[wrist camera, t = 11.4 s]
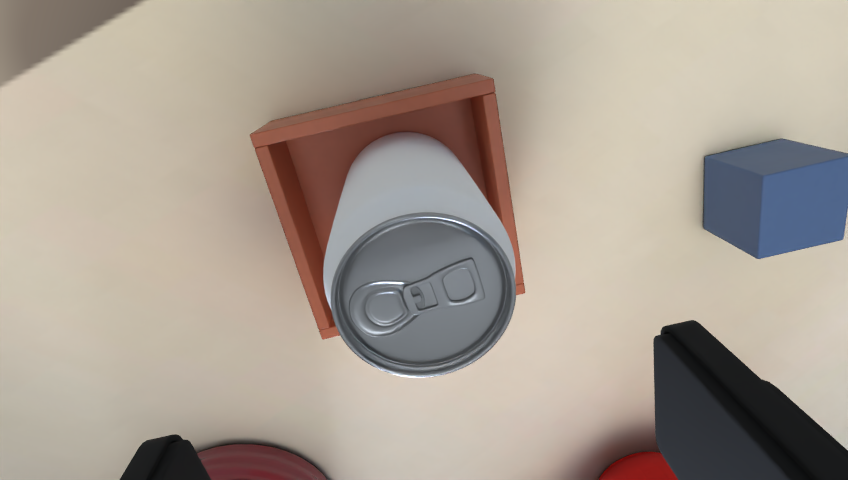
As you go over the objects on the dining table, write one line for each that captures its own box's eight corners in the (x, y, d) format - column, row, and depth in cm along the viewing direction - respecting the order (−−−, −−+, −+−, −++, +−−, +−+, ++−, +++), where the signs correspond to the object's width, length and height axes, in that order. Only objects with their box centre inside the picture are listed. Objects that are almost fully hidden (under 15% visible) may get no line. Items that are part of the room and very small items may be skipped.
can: (325, 153, 24) (278, 242, 13) (446, 112, 24) (500, 166, 13) (370, 262, 27) (362, 413, 16) (480, 225, 26) (550, 353, 15)
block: (703, 156, 27) (763, 176, 22) (782, 137, 27) (856, 154, 22) (702, 229, 28) (757, 260, 24) (776, 212, 28) (844, 240, 24)
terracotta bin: (270, 121, 24) (248, 134, 20) (476, 73, 24) (493, 77, 20) (330, 300, 28) (322, 340, 24) (506, 260, 28) (525, 293, 24)
